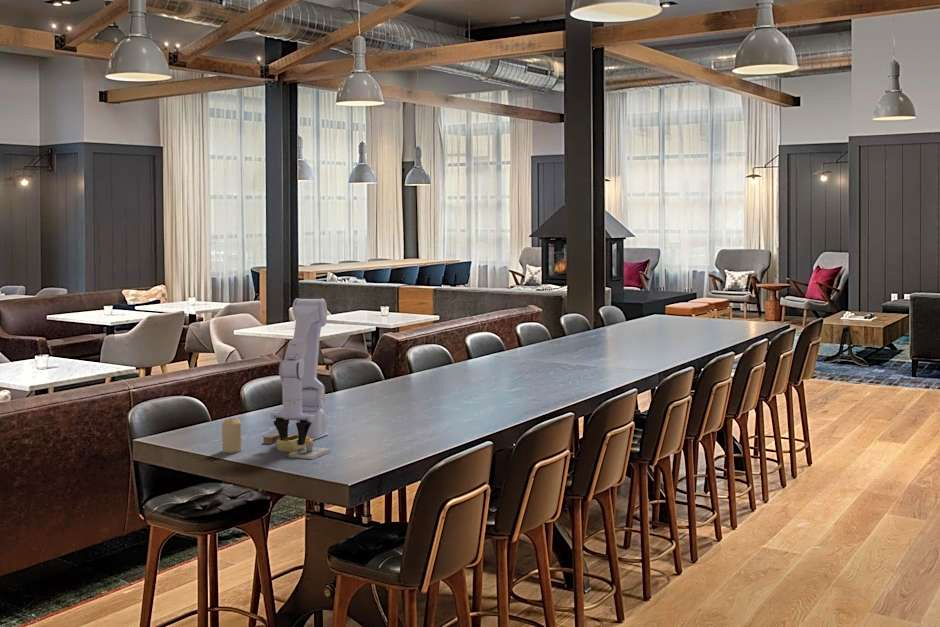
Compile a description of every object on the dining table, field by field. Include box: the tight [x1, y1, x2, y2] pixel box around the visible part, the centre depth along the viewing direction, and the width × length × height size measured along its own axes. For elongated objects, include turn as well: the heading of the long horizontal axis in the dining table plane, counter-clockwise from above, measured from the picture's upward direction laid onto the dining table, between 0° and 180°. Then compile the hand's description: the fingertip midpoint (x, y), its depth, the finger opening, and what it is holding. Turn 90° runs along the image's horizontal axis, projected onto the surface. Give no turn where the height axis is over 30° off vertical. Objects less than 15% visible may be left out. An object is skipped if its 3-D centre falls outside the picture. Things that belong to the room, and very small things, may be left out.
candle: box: [221, 417, 242, 454], centre depth 303 cm, size 6×6×10 cm
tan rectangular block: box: [262, 433, 281, 445], centre depth 316 cm, size 5×3×2 cm, turn 156°
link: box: [276, 433, 309, 453], centre depth 307 cm, size 9×6×3 cm, turn 157°
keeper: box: [288, 439, 331, 460], centre depth 298 cm, size 10×8×4 cm
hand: (293, 443), depth 307 cm, fingers closed on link, 6 cm apart
